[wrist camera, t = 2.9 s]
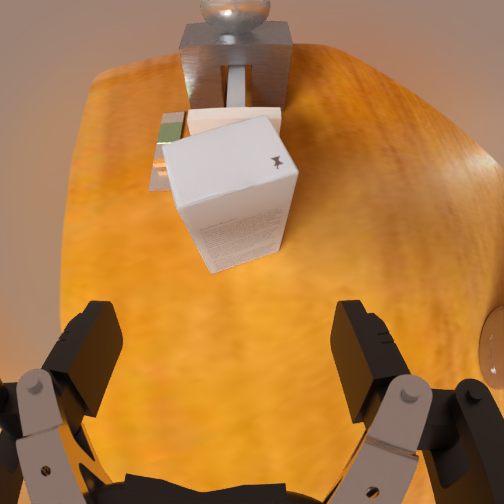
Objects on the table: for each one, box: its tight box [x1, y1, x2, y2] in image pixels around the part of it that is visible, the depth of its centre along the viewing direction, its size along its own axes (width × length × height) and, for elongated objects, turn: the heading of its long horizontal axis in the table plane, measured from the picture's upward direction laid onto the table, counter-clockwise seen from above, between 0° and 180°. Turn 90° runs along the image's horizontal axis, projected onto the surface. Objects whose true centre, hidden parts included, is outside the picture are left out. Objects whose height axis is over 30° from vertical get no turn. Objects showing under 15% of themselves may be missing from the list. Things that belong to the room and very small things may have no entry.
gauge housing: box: [149, 0, 293, 192], centre depth 22 cm, size 13×15×15 cm
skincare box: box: [162, 115, 299, 274], centre depth 20 cm, size 6×4×12 cm
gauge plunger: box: [153, 65, 282, 168], centre depth 25 cm, size 11×11×6 cm
